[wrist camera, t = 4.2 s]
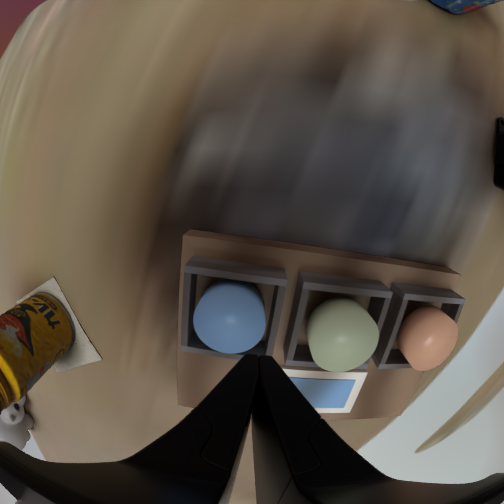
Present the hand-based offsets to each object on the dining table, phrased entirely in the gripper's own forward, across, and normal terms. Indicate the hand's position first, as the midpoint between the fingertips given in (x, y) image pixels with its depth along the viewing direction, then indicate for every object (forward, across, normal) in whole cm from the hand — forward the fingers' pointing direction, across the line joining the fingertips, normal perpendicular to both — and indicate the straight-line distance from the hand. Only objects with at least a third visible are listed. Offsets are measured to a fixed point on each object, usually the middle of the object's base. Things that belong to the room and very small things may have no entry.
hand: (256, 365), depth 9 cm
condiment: (+11, +18, +9) cm, 23 cm away
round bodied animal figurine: (+11, +30, +26) cm, 41 cm away
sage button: (+8, -5, +2) cm, 9 cm away
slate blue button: (+8, +1, +2) cm, 9 cm away
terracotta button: (+8, -12, +2) cm, 14 cm away
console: (+11, -5, +5) cm, 13 cm away
